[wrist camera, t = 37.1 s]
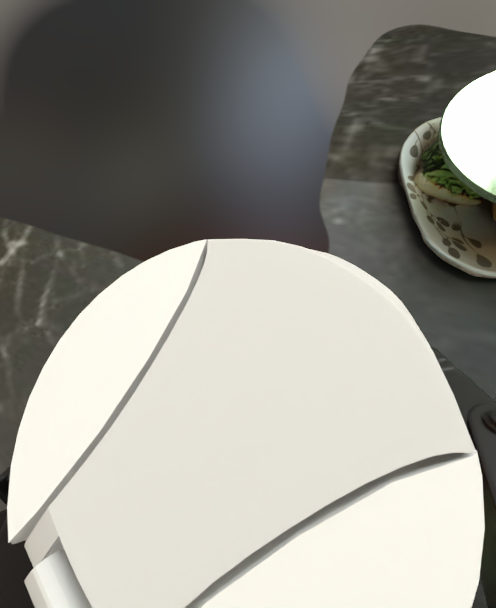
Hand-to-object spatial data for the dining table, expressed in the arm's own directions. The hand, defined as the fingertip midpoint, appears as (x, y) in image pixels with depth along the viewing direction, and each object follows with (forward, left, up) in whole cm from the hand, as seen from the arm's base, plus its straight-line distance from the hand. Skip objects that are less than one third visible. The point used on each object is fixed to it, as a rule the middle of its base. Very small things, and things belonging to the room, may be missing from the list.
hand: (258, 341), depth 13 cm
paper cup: (+1, +3, -6) cm, 7 cm away
